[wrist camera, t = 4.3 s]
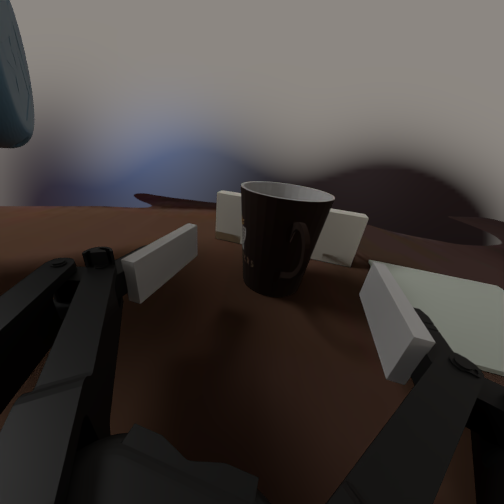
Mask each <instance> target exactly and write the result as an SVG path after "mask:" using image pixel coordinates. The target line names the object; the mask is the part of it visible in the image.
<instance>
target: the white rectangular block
mask: <svg viewBox="0 0 504 504" xmlns="http://www.w3.org/2000/svg"><path fill="white" fill-rule="evenodd" d="M367 221H368V217H367V216H366V215H365V214H361V213H355V212H348V211H342V210H337V209H330V212H329V214H328V216H327V219H326V221H325V224H324V226H323V229H322V231H321V233H320V236H319V238H318V241H317V243H316V246H315V248H314V250H313V253H312V255H311V258H310V259H315V260H319V261H324V262H329V263H333V264H338V265H343V266H347V267H351V264H352V261H353V259H354V256H355V253H356V251H357V248H358V245H359V243H360V240H361V237H362V235H363V232H364V229H365V227H366V224H367ZM216 239H221V240H226V241H231V242H235V243H240V244H242V210H241V193H235V192H229V191H223V190H222V191H220V192H218V193H217V209H216Z"/></svg>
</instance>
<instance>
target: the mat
mask: <svg viewBox="0 0 504 504" xmlns="http://www.w3.org/2000/svg"><path fill="white" fill-rule="evenodd" d="M373 262H376V263H381V264H385V265H386V266H387V268H388V269H389V271H390V273H391V274H392V276H393V277H394V279H395V280H396V282H397V283H398V285H399V287H400V288H401V290H402V291H403V293H404V294H405V296H406V297H407V299H408V300H409V302H410V304H411V305H412V307H414V308H418V309H420V310H421V311H423V312H424V313H425V314H426V315H427V316H429V318H430V319H431V321H432V322H433V323H434V326H436V328H437V329H438V332H440V333H441V335H442V336H443V338H444V339H445V340H446V342H447V343H448V345H449V346H450V348H451V349H452V350H453V352H455V353H458V354H460V355H462V356H464V357H466V358H467V359H468V360H470V361H471V362H473V363H474V364H475V365H476V366H477V367H478V368H479V369H480V370H483V371H486V372H490V373H494V374H497V375H501V376H504V290H503V289H501V288H500V287H498V286H495V285H490V284H486V283H481V282H476V281H471V280H466V279H461V278H456V277H451V276H446V275H442V274H437V273H432V272H427V271H422V270H417V269H412V268H407V267H402V266H398V265H393V264H388V263H383V262H378V261H373V260H369V264H370V266H371V265H372V263H373Z"/></svg>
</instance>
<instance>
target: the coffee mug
mask: <svg viewBox="0 0 504 504" xmlns="http://www.w3.org/2000/svg"><path fill="white" fill-rule="evenodd" d="M334 199H335V197H334V196H333V195H331V194H329V193H326V192H323V191H320V190H317V189H313V188H308V187H303V186H299V185H293V184H286V183H277V182H262V181H255V182H245V183H242V184H241V210H242V249H243V279H244V282H245V283H246V285H247V286H248V287H249V288H250V289H252V290H253V291H255V292H257V293H260V294H262V295H266V296H271V297H284V296H288V295H291V294H293V293H294V292H296V290H297V289H298V287H299V284H300V282H301V279H302V277H303V275H304V272H305V270H306V267H307V265H308V263H309V260H310V258H311V255H312V253H313V250H314V248H315V246H316V243H317V241H318V238H319V236H320V233H321V231H322V229H323V226H324V224H325V221H326V219H327V216H328V214H329V212H330V209H331V207H332V204H333V202H334Z"/></svg>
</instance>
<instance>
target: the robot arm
mask: <svg viewBox="0 0 504 504" xmlns="http://www.w3.org/2000/svg"><path fill="white" fill-rule="evenodd" d="M33 130H34V105H33V96H32V88H31V82H30V76H29V71H28V66H27V61H26V56H25V51H24V47H23V44H22V39H21V35H20V32H19V28H18V24H17V21H16V18H15V15H14V12H13V8H12V6H11V3H10V1H9V0H0V148H17V147H21V146H23V145H25V144H26V143H27V142H28V141H29V140H30V139H31V137H32V134H33ZM82 255H83V258H84V262H85V265H86V267H76V264H75V261H74V259H71V258H58V259H57V258H56V259H53V260H51V261H48V262H46V263H44V264H43V265H42V266H40V267H39V268H38V269H36V270H35V271H34V272H32V273H31V274H30V275H28V276H27V277H26V278H24V279H23V280H22V281H20V282H19V283H18V284H16V285H15V286H14V287H12V288H11V289H10V290H8V291H7V292H6V293H4V294H3V295H2V296H0V414H1V413H2V411H3V410H4V409H5V407H6V406H7V405H8V403H9V402H10V401H11V400H12V398H13V397H14V396H15V394H16V393H17V392H18V390H19V389H20V388H21V386H22V385H23V384H24V382H25V381H26V380H27V378H28V377H29V376H30V374H31V373H32V372H33V370H34V369H35V368H36V367H37V365H38V364H39V363H40V361H41V360H42V359H43V357H44V356H45V355H46V353H47V352H48V351H49V349H50V348H51V347H52V349H51V351H50V353H49V356H48V358H47V360H46V363H45V365H44V367H43V370H42V372H41V374H40V377H39V379H38V381H37V384H36V386H35V388H34V390H33V391H32V392H29V393H25V394H22V395H21V396H20V397H19V398H18V399H17V400H16V402H15V403H14V405H13V407H12V409H11V411H10V413H9V415H8V417H7V419H6V421H5V423H4V426H3V428H2V430H1V432H0V504H271V503H270V502H269V501H268V500H267V498H266V497H265V496H264V495H263V494H262V493H261V492H260V491H259V490H258V489H257V485H258V479H259V478H258V477H256V476H254V475H251V474H249V473H247V472H245V471H242V470H240V469H238V468H236V467H233V466H231V465H229V464H226V463H215V462H198V461H189V460H187V459H186V458H184V457H183V456H182V455H181V454H180V453H179V452H178V451H177V450H176V449H175V448H174V447H173V446H172V445H171V444H170V443H169V442H168V441H167V440H166V439H165V438H164V437H163V436H162V435H160V434H158V433H156V432H153V431H151V430H149V429H146V428H144V427H142V426H140V425H137V424H134V425H133V427H132V428H131V430H130V431H129V433H122V434H115V435H110V412H111V404H112V395H113V386H114V378H115V369H116V360H117V352H118V343H119V335H120V326H121V317H122V309H123V297H122V296H123V295H125V294H126V293H127V292H128V297H129V301H132V302H136V303H139V304H141V303H142V302H143V301H145V300H146V299H147V298H148V297H149V296H150V295H152V294H153V293H154V292H155V291H156V290H158V289H159V288H160V287H161V286H162V285H163V284H165V283H166V282H167V281H168V280H169V279H170V278H172V277H173V276H174V275H175V274H176V273H177V272H179V271H180V270H181V269H182V268H183V267H185V266H186V265H187V264H188V263H189V262H190V261H192V260H193V259H194V258H195V257H196V256H197V225H194V224H189V223H188V224H186V225H184V226H183V227H181V228H179V229H177V230H175V231H173V232H171V233H170V234H168V235H166V236H164V237H162V238H160V239H158V240H156V241H155V242H153V243H151V244H149V245H146V246H142V247H140V248H138V249H136V250H135V251H132V252H130V254H129V253H128V254H126V255H124V256H123V257H121V258H119V259H117V260H114V255H113V251H112V249H111V248H109V247H95V248H91V249H88V250H86V251H84V252H83V253H82ZM359 295H360V299H361V302H362V305H363V308H364V311H365V314H366V317H367V321H368V324H369V327H370V330H371V333H372V336H373V339H374V342H375V346H376V349H377V352H378V355H379V358H380V361H381V364H382V368H383V371H384V374H385V377H386V379H387V380H390V381H393V382H396V383H400V384H403V385H405V384H406V383H407V381H408V380H409V378H410V377H411V378H412V380H413V382H414V384H415V386H414V387H413V389H412V390H411V391H410V393H409V394H408V395H407V397H406V398H405V399H404V401H403V402H402V403H401V405H400V406H399V407H398V409H397V410H396V411H395V413H394V414H393V415H392V417H391V418H390V419H389V421H388V422H387V423H386V425H385V426H384V427H383V428H382V430H381V431H380V432H379V434H378V435H377V436H376V438H375V439H374V440H373V442H372V443H371V444H370V446H369V447H368V448H367V450H366V451H365V452H364V454H363V455H362V456H361V458H360V459H359V460H358V462H357V463H356V464H355V466H354V467H353V468H352V470H351V471H350V472H349V474H348V475H347V476H346V478H345V479H344V480H343V482H342V483H341V484H340V485H339V487H338V488H337V489H336V491H335V492H334V493H333V495H332V496H331V497H330V499H329V500H328V501H327V503H326V504H433V502H434V500H435V497H436V495H437V492H438V490H439V488H440V485H441V483H442V480H443V478H444V476H445V473H446V471H447V468H448V466H449V464H450V461H451V459H452V456H453V454H454V452H455V449H456V447H457V444H458V442H459V440H460V437H461V435H462V432H463V430H464V428H465V427H467V428H469V429H470V430H471V440H472V453H473V465H474V477H475V490H476V502H477V504H504V387H503V386H501V385H499V384H497V383H495V382H493V381H491V380H488V379H486V378H484V375H483V373H482V372H481V370H480V369H479V368H478V367H477V366H476V365H475V364H474V363H473V362H471V361H470V360H468V359H467V358H466V357H464V356H462V355H460V354H458V353H455V352H453V350H452V349H451V348H450V346H449V345H448V343H447V342H446V340H445V339H444V338H443V336H442V335H441V333H440V332H438V329H437V328H436V326H434V323H433V322H432V321H431V319H430V318H429V316H427V315H426V314H425V313H424V312H423V311H421V310H420V309H418V308H414V307H412V305H411V304H410V302H409V300H408V299H407V297H406V296H405V294H404V293H403V291H402V290H401V288H400V287H399V285H398V283H397V282H396V280H395V279H394V277H393V276H392V274H391V273H390V271H389V269H388V268H387V266H386V265H385V264H381V263H376V262H373V263H372V265H371V268H370V270H369V272H368V275H367V277H366V279H365V282H364V284H363V286H362V289H361V291H360V293H359ZM53 297H54V299H53ZM52 345H53V346H52Z"/></svg>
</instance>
